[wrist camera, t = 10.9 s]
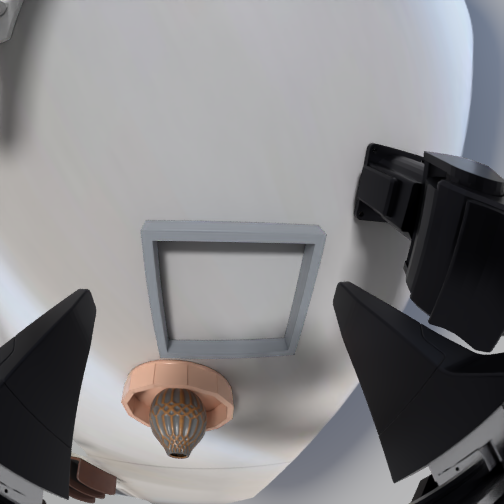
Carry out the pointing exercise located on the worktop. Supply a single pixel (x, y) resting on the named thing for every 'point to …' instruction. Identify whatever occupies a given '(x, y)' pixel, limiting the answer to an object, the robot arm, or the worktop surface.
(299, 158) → the worktop surface
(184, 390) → the vase
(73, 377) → the robot arm
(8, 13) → the test tube rack
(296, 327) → the parts tray
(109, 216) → the worktop surface
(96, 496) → the letter holder
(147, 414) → the bowl
